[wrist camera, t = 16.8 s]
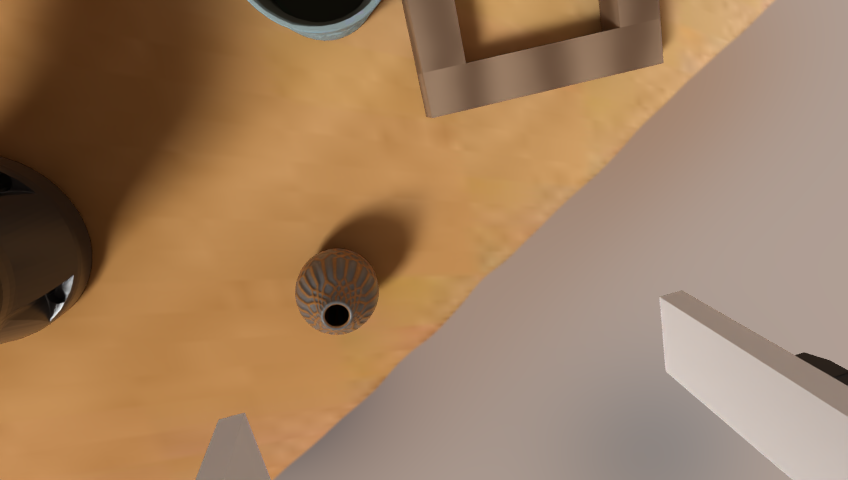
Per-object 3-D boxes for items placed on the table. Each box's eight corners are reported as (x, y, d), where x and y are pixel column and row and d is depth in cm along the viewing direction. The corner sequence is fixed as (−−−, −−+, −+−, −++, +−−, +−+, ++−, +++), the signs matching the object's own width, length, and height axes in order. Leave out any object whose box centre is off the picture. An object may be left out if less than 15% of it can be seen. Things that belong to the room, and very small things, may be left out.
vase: (284, 289, 46) (271, 332, 37) (324, 225, 45) (319, 255, 36) (351, 323, 47) (352, 372, 39) (390, 263, 46) (400, 300, 38)
